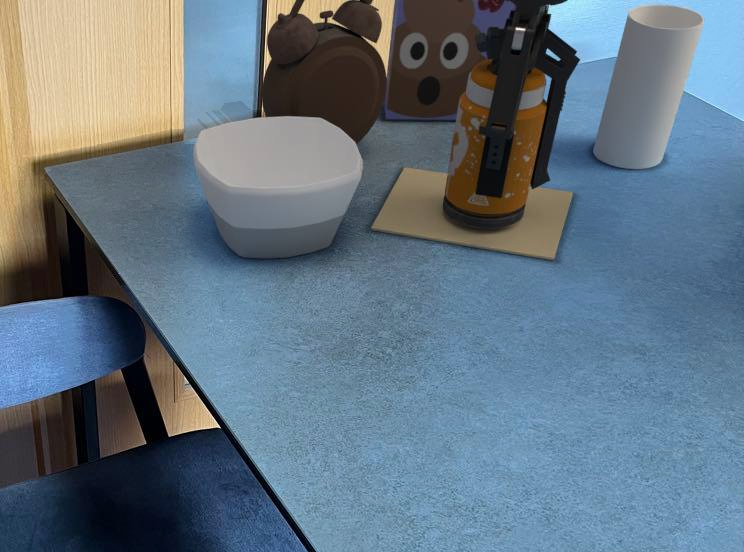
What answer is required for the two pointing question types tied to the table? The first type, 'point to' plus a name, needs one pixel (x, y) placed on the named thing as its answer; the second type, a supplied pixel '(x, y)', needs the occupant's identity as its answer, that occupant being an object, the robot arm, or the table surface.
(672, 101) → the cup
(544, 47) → the canister
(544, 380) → the table surface
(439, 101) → the cereal box
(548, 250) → the mat
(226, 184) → the bowl
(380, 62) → the alarm clock
